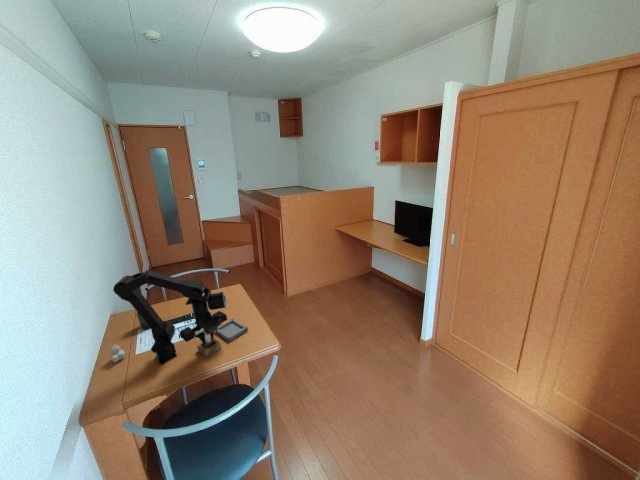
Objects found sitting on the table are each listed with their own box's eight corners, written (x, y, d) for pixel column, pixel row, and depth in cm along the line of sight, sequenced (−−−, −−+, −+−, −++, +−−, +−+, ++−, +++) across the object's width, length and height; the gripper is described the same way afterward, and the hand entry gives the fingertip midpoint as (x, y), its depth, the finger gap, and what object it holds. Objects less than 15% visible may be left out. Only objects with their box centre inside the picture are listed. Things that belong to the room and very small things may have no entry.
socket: (206, 357, 117) (204, 351, 116) (198, 350, 122) (196, 344, 121) (221, 348, 122) (220, 342, 121) (212, 341, 127) (211, 336, 126)
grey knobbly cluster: (128, 353, 123) (123, 338, 120) (123, 363, 117) (117, 347, 114) (114, 356, 121) (108, 341, 119) (108, 367, 115) (102, 351, 113)
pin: (208, 352, 120) (203, 333, 117) (204, 349, 122) (200, 330, 119) (215, 348, 122) (210, 329, 119) (211, 345, 124) (207, 326, 121)
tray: (229, 342, 126) (228, 338, 125) (215, 332, 133) (214, 328, 133) (247, 330, 133) (247, 327, 132) (233, 322, 140) (232, 318, 140)
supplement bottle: (159, 321, 145) (153, 301, 141) (150, 330, 138) (144, 309, 134) (146, 321, 145) (140, 301, 141) (137, 329, 139) (131, 309, 135)
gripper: (188, 329, 104) (196, 362, 109) (231, 306, 117) (237, 337, 122) (175, 319, 111) (183, 350, 116) (217, 298, 124) (223, 328, 129)
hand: (208, 341), depth 121 cm, fingers closed on pin, 3 cm apart
